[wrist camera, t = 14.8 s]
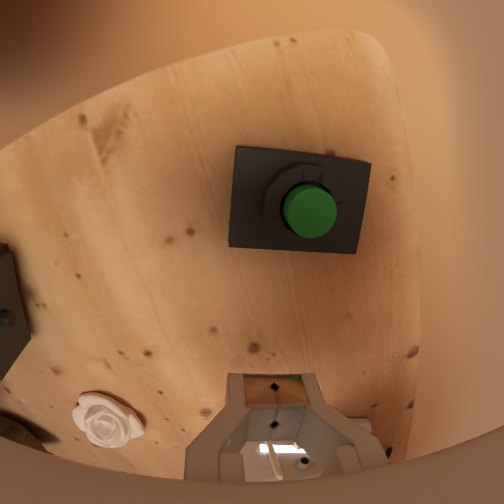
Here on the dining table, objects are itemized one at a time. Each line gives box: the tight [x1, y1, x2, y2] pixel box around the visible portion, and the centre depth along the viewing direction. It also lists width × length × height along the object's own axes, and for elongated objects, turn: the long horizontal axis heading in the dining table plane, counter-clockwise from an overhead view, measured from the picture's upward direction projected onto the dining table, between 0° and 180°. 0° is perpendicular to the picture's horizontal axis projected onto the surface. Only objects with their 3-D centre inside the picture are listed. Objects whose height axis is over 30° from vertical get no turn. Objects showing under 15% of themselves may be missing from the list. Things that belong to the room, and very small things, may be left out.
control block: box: [228, 146, 371, 254], centre depth 25 cm, size 11×8×4 cm
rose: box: [72, 392, 145, 448], centre depth 33 cm, size 10×4×10 cm
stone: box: [0, 415, 50, 454], centre depth 32 cm, size 17×9×8 cm
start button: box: [283, 184, 337, 238], centre depth 23 cm, size 4×4×2 cm
